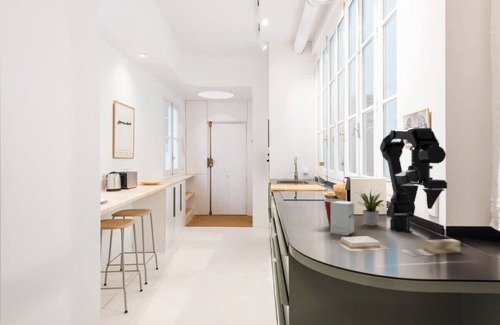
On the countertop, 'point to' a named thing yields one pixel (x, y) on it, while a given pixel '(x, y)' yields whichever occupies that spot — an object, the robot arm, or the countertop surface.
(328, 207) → the plastic cup
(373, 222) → the house plant
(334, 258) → the countertop surface
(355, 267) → the countertop surface
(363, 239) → the tile
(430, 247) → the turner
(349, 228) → the supplement box
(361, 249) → the board
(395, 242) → the countertop surface
